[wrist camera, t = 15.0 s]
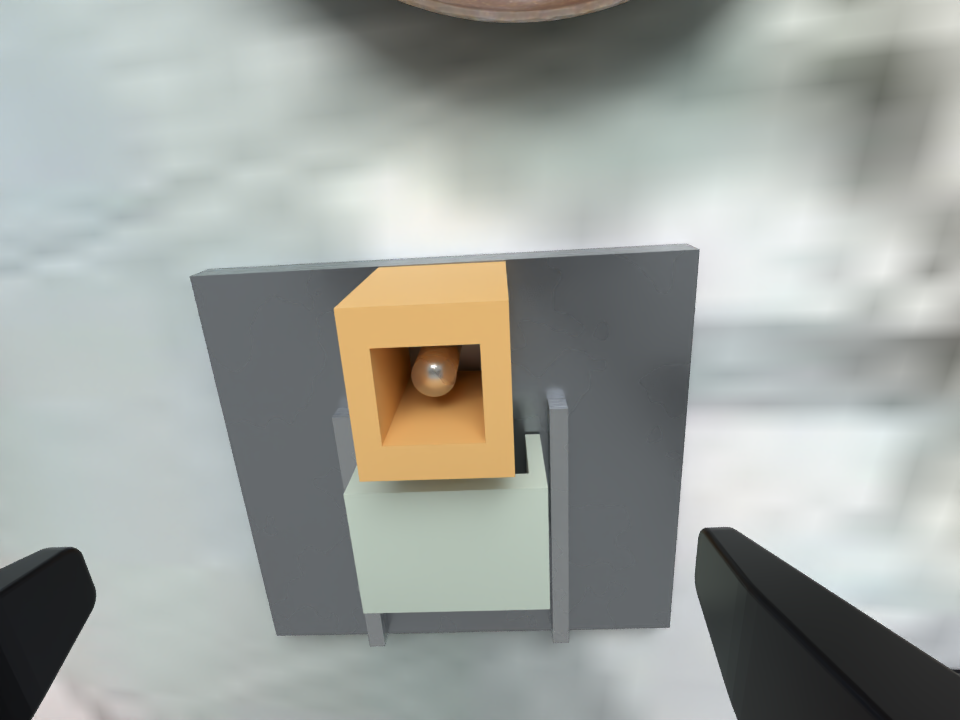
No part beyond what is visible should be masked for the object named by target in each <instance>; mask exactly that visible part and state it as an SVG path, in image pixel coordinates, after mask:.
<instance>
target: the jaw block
mask: <svg viewBox="0 0 960 720" xmlns="http://www.w3.org/2000/svg"><path fill="white" fill-rule="evenodd" d="M334 315H335V321H336V328H337V335H338V341H339V348H340V355H341V361H342V368H343V375H344V381H345V388H346V395H347V401H348V408H349V415H350V421H351V428H352V435H353V441H354V448H355V455H356V461H357V468H358V475H359V481H360V482H370V481H403V480H435V479H468V478H501V477H515V459H514V432H513V404H512V377H511V350H510V323H509V298H508V286H507V274H506V262H505V261H503V262H482V263H462V264H441V265H421V266H400V267H380V268H377V269H376V270H375V271H374V272H373V273H372V274H371V275H369V276H368V277H367V278H366V279H365V280H364V281H363V282H362V283H361V284H360V285H359V286H358V287H356V288H355V289H354V290H353V291H352V292H351V293H350V294H349V295H348V296H347V297H346V298H344V299H343V300H342V301H341V302H340V303H339V304H338V305H337V306H336V307H335V308H334ZM466 344H480V352H481V370H479V371H457V376H456V381H455V384H454V386H453V388H452V389H451V390H450V391H449V392H448V393H446V394H445V395H442V396H438V397H431V396H427V395H424V394H422V393H421V392H419V391H418V390H417V389H416V388H415V386H414V384H413V382H412V378H411V365H410V356H409V347H418V346H442V345H466Z"/></svg>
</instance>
